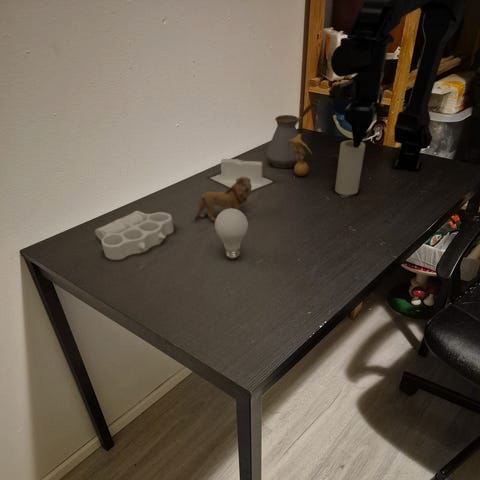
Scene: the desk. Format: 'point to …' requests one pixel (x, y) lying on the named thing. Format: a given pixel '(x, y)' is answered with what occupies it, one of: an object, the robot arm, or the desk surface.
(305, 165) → the figurine
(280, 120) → the coffee pot
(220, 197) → the lion figurine
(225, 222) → the light bulb
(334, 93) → the robot arm
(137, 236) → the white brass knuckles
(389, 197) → the desk surface
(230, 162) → the napkin holder
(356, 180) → the paper towel roll
